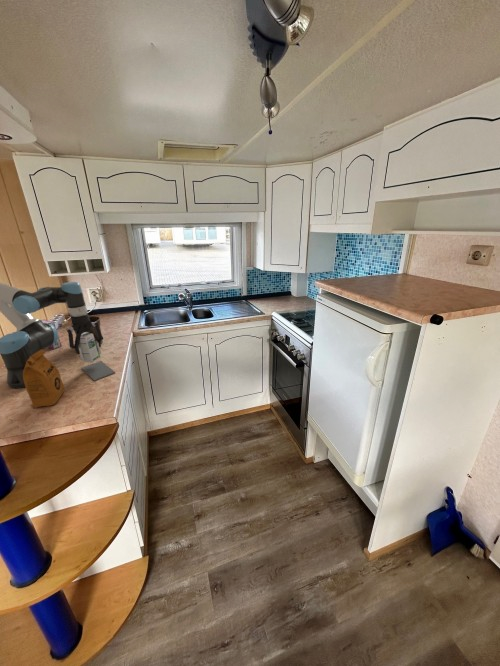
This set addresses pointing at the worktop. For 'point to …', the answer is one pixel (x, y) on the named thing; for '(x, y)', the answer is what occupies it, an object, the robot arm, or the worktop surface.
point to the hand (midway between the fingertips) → (90, 356)
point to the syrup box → (89, 347)
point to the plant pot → (92, 319)
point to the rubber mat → (97, 370)
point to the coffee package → (42, 380)
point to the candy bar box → (57, 343)
